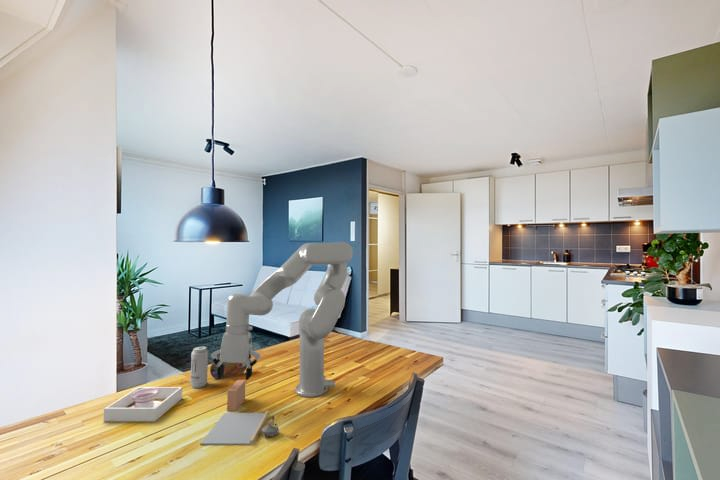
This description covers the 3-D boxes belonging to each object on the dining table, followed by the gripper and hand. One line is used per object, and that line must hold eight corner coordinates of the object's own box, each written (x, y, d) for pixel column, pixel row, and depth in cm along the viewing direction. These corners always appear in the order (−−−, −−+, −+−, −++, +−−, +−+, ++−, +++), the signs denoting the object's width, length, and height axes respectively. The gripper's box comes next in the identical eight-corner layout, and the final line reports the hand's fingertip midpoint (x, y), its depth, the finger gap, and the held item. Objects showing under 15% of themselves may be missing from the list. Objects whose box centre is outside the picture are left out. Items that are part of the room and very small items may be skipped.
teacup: (171, 408, 111) (171, 390, 111) (132, 424, 101) (132, 404, 101) (153, 399, 118) (154, 382, 118) (115, 413, 107) (115, 394, 108)
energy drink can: (187, 387, 128) (188, 349, 129) (200, 381, 134) (201, 345, 134) (196, 390, 125) (197, 351, 126) (210, 384, 131) (211, 347, 131)
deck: (245, 399, 118) (245, 380, 119) (235, 411, 109) (236, 390, 110) (236, 399, 118) (237, 380, 118) (227, 411, 109) (227, 390, 109)
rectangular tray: (182, 398, 119) (182, 387, 119) (154, 421, 102) (155, 408, 103) (137, 398, 118) (138, 387, 118) (103, 421, 102) (103, 408, 102)
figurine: (261, 440, 92) (264, 418, 93) (259, 433, 96) (263, 412, 97) (279, 439, 94) (283, 417, 95) (277, 432, 98) (280, 411, 99)
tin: (210, 381, 134) (210, 360, 135) (209, 378, 137) (209, 358, 137) (247, 374, 142) (247, 354, 143) (245, 371, 145) (246, 353, 145)
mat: (268, 414, 107) (268, 410, 108) (252, 444, 90) (252, 440, 91) (224, 414, 107) (224, 410, 107) (200, 444, 90) (200, 440, 90)
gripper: (264, 327, 118) (261, 374, 118) (217, 326, 118) (214, 373, 117) (258, 332, 111) (255, 383, 110) (208, 330, 111) (205, 381, 110)
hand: (234, 378), depth 114 cm, fingers open, 9 cm apart
